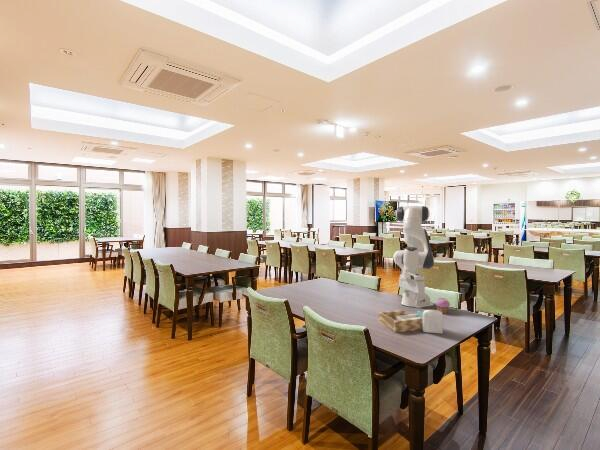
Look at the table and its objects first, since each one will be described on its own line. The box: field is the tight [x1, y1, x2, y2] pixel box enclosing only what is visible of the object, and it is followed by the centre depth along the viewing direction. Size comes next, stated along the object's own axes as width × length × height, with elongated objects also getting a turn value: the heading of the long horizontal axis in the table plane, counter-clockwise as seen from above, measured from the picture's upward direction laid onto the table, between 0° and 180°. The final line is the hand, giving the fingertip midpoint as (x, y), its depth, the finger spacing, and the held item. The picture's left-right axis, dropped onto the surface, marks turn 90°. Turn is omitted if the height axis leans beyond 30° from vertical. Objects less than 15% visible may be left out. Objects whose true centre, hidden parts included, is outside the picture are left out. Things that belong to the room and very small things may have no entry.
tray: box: [395, 309, 424, 321], centre depth 186 cm, size 17×14×4 cm
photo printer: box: [422, 309, 444, 335], centre depth 173 cm, size 10×4×12 cm, turn 77°
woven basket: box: [377, 309, 423, 333], centre depth 184 cm, size 18×18×6 cm
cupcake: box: [434, 297, 451, 314], centre depth 208 cm, size 9×9×10 cm
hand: (410, 298), depth 185 cm, fingers open, 6 cm apart
